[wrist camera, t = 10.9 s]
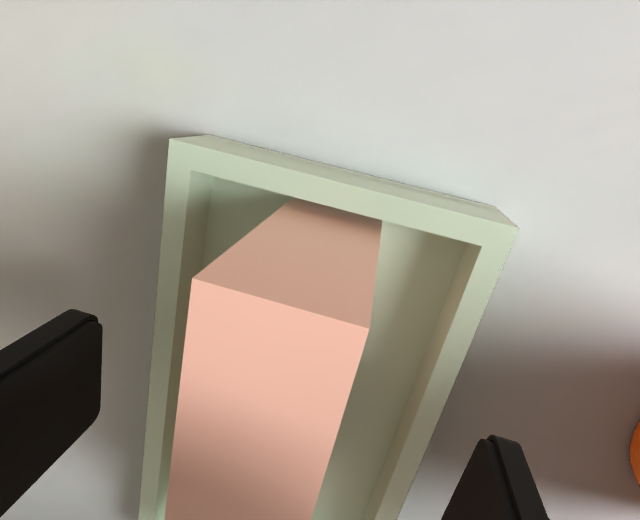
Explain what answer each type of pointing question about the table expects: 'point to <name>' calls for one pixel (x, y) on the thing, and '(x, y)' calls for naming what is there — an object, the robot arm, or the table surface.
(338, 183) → the tray
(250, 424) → the pink rectangular block
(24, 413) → the robot arm
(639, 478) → the paper cup
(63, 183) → the table surface
